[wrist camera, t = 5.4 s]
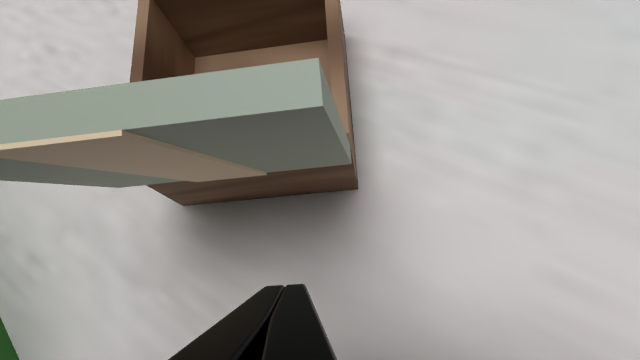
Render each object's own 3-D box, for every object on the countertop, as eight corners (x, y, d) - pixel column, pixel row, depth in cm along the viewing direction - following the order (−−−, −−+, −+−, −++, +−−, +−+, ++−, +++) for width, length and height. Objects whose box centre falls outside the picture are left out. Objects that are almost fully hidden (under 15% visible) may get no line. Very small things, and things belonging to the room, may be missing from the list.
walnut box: (358, 189, 23) (350, 146, 17) (182, 205, 24) (120, 170, 18) (344, 35, 26) (333, -45, 20) (190, 56, 27) (139, -13, 21)
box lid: (349, 144, 17) (351, 166, 17) (117, 169, 18) (118, 189, 18) (318, 58, 7) (323, 111, 7) (-198, 126, 8) (-199, 173, 8)
